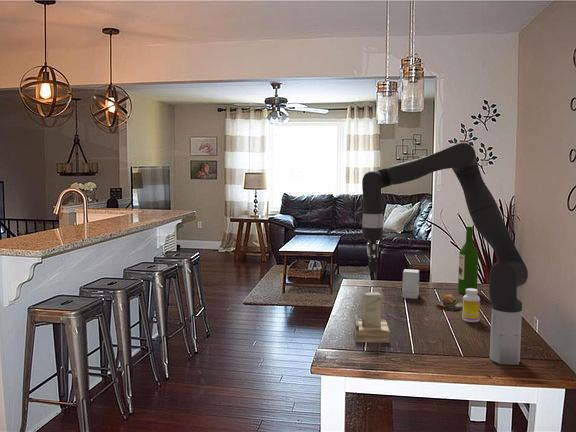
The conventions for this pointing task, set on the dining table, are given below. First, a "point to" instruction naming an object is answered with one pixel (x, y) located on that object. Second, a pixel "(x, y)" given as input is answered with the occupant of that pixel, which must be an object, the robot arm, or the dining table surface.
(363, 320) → the skincare box
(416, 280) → the supplement box
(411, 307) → the dining table surface
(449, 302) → the burger
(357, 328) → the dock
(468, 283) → the wine bottle
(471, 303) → the supplement bottle
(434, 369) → the dining table surface
